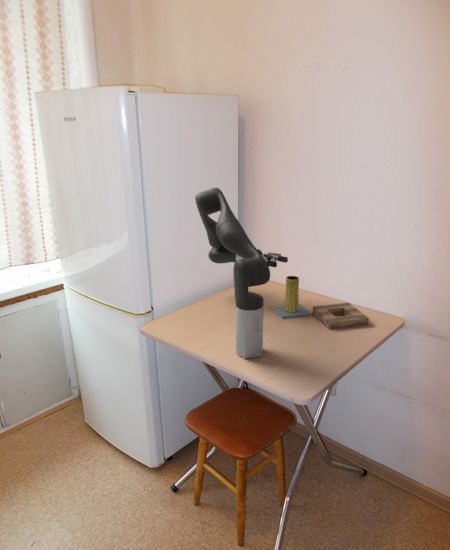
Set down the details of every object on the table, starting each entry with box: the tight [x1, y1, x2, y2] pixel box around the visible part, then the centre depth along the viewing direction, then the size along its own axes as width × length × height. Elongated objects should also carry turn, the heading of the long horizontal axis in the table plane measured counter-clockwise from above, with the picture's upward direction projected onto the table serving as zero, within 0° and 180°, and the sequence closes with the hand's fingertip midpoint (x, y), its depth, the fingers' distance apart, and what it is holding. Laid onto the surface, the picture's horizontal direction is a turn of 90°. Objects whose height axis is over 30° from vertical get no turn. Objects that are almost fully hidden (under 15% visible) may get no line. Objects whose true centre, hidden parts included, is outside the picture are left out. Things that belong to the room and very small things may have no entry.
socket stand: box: [312, 302, 370, 331], centre depth 169 cm, size 16×16×3 cm
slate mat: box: [273, 303, 311, 319], centre depth 176 cm, size 10×12×1 cm
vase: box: [283, 275, 300, 313], centre depth 174 cm, size 6×6×14 cm
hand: (282, 262), depth 171 cm, fingers open, 8 cm apart
